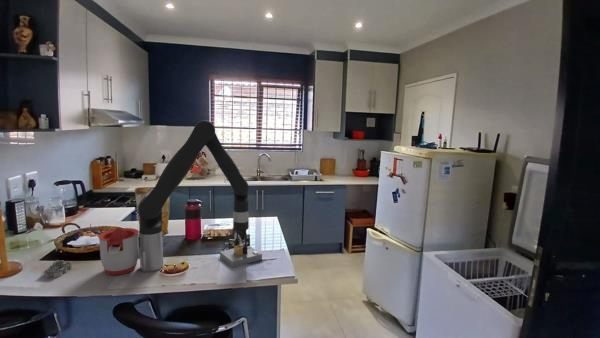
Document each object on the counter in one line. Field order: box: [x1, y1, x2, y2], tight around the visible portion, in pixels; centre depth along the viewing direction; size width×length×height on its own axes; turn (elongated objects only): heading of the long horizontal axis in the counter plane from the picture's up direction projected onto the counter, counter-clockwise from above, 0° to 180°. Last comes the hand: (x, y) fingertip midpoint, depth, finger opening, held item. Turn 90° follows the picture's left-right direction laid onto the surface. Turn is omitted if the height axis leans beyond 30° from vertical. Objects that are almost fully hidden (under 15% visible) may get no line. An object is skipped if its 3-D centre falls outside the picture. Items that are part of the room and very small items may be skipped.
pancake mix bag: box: [134, 186, 171, 235], centre depth 189 cm, size 7×19×28 cm, turn 104°
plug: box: [233, 243, 244, 256], centre depth 159 cm, size 5×4×7 cm
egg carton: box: [41, 259, 73, 279], centre depth 140 cm, size 11×8×4 cm
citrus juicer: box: [98, 226, 140, 276], centre depth 142 cm, size 16×17×20 cm
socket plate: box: [219, 245, 263, 269], centre depth 159 cm, size 16×14×4 cm
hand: (240, 250), depth 159 cm, fingers open, 8 cm apart
